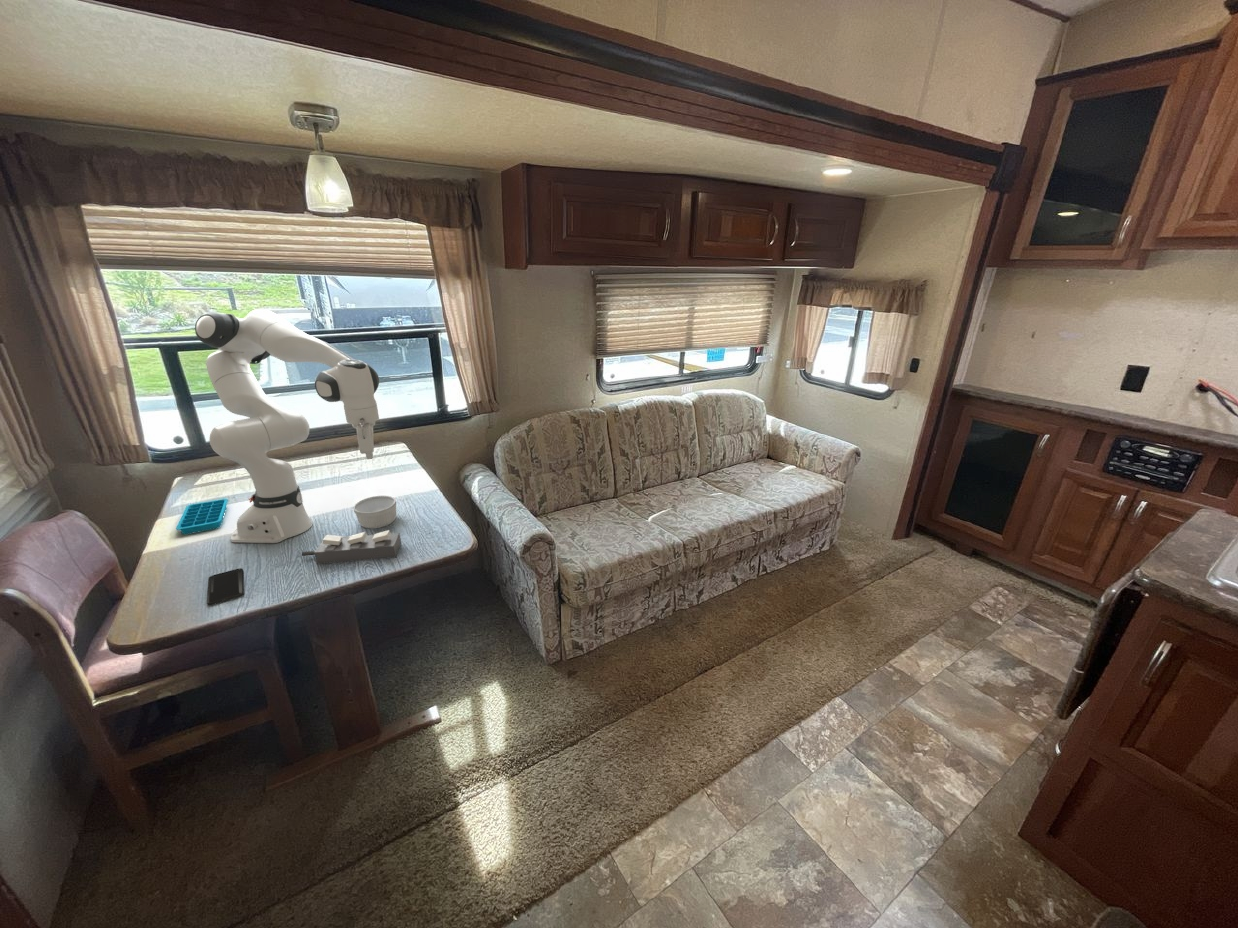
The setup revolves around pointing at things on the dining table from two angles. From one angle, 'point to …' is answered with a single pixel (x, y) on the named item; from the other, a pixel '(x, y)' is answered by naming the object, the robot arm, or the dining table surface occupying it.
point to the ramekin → (375, 511)
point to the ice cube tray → (202, 516)
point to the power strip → (357, 550)
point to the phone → (225, 586)
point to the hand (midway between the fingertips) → (369, 457)
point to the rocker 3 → (381, 536)
